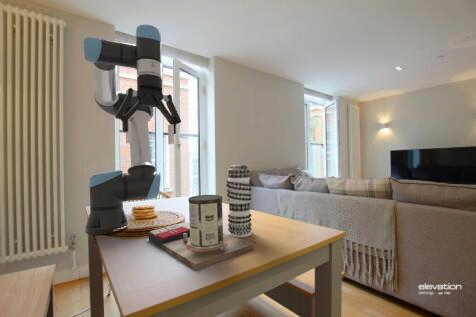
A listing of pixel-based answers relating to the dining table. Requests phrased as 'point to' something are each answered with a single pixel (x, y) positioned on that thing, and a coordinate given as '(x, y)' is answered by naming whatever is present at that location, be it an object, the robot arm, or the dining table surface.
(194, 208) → the coffee can
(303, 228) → the dining table surface
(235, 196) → the decorative candle
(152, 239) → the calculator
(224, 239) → the pin board
